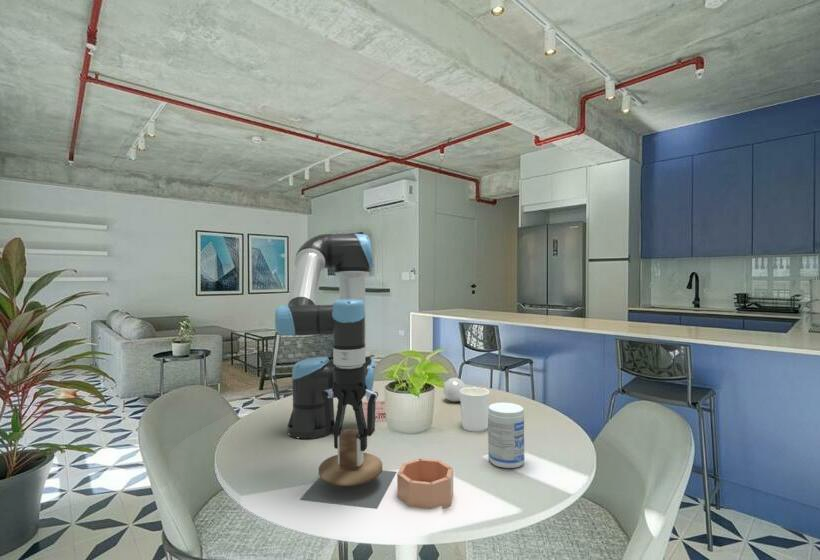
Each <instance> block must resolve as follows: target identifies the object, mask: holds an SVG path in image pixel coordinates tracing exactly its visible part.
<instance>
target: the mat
mask: <svg viewBox="0 0 820 560" xmlns="http://www.w3.org/2000/svg"><path fill="white" fill-rule="evenodd" d="M397 473H398V471H392V470H383V469H382V472H381V473H380V475H379V476H377V477H376V478H375V479H373V480H371V481H369V482H366V483H362V484H358V485H350V486H341V485H334V484H330V483H327V482H325V481H324V480H322V479H321V478H320V476H319V477H318V478H317V480H316V481H314V483H312V485H311V486H310V487H309V488H308V489H307V490H306V492H305V493H303V495H301V497H300V498H299V501H307V502H315V503H322V504H332V505H333V504H335V505H341V506H349V507H358V508H359V507H360V508H367V509H376V510H377V509H378V508H379V506H380V504H381V502H382V501H383V499H384V497H385V494H386V493H387V491H388V489H389V487H390V485H391V483H392V482H393V480H394V478H395V476H396V474H397Z"/></svg>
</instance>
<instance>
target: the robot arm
mask: <svg viewBox="0 0 820 560" xmlns="http://www.w3.org/2000/svg"><path fill="white" fill-rule="evenodd" d="M371 243H372V242H371V239H370V237H369V236H368V235H367V234H364V233H363V234H361V233H322V234H317V235H315V236H313V237H311V238H310V239H308V240H306V241H305V242H304V243H303V244H302V245H301V246H300V247H299V248H298V250H297V252H296V253H295V258H294V265H295V273H294V276H293V281H292V284H291V289H290V293H289V298H288V300H287V304H285V305H279V306H277V307H276V310H275V314H274V326H275V330H276V333H277V334H278V335H281V336H308V335H309V336H310V335H332V341H333V345H332V350H333V351H332V354H333V355H332V357H333V359H332V360H333V361H330V359H329V357H327V356H315V357H309V358H305V359H303V360H300V361H297V362H295V364H294V365H293V366H292V376H291V380H292V410H291V413H290V417H289V420H288V424H287V434H288V433H289V434H290V435H291V436H294V437H299V438H313V439H318V438H317V437H319V438H323V437H325V436H328V435H330V434H332V435H333V447H334V449H335V450H336V449H337V455H338V464H340V448H339V435H340V434H341V433H342V432H343V431H344V429H343V425H344V419H345V414H346V408H347V405H349V406H351V407H352V410H353V411H354V416H355V421H356V426H357V430H358V431H359V436H358V437H357V466H360V465H361V464H362V463H363V461H364V453H365V452H366V450H367V448H368V437H371V436H372V435H373V434H374V432H375V431H376V401H377V399H378V396H379V393H378V391H374V392H373V387H374V382H375V381H374V380H375V371H376V361H375V360H374V359H371V358H372V356H371V353H370V352H369V351H368V350H367V330H366V329H367V328H366V326H367V324H366V321H367V320H366V318H367V317H366V314H367V313H366V278H367V277H368V276H369V275H370V270H371V269H373V268H374V265H375V264H374V259H373V258H374V257H373V250H372V244H371ZM324 269H329V270H330V269H332V270H333V269H334V275H335V276H336V277H337V278H338V280H339V281H338V282H339V284H338V285H339V299H337V300H334V301H333V303H332V304H318V300H319V299H318V298H319V291H320V283H321V276H322V275H321V274H322V272H323V271H324ZM364 397H366V401H368V402H367V406H366V407H367V408H366V411H367V412H366V413H367V414H366V416H365V412H364V409H363V408H364V407H363V398H364ZM334 398H335V399H337V406H336V408H337V411H336V416H335V409H334V408H335V407H334V404H335V403H334ZM365 417H366V418H367V419H366V418H365ZM291 436H290V437H291ZM322 436H323V437H322ZM294 437H293V438H294Z"/></svg>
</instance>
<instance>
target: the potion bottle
mask: <svg viewBox="0 0 820 560" xmlns="http://www.w3.org/2000/svg"><path fill="white" fill-rule="evenodd" d="M444 384H445V389H444V390H443V389H442V392H443V396H444V397H445V398H446V400H448V401H450V402H452V403H458V402H459V403H460V390H461V389H463V388H467V387H469V386H468V385H466V383H465V382H464V381H463V380H462V379H461V378H458V377H457V376H456V377H450V378H449V379H447V380H446V381H445V382H444ZM472 387H478V385H477V384H476V385H474V386H472ZM480 388H483V387H480Z"/></svg>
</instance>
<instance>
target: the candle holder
mask: <svg viewBox="0 0 820 560" xmlns="http://www.w3.org/2000/svg"><path fill="white" fill-rule="evenodd" d="M490 395H491V394H490V390H489V389H487V388H484V387H482V388H481V387H478V386H477V387H473V386H468V387H467V388H463V389H461V390H460V401H459V403H460V411H461V412H460V414H461V427H462V429H463V430H465V431H468V432H475V433H476V432H478V433H479V432H484V431H486V430H488V409H489V405H490Z"/></svg>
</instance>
